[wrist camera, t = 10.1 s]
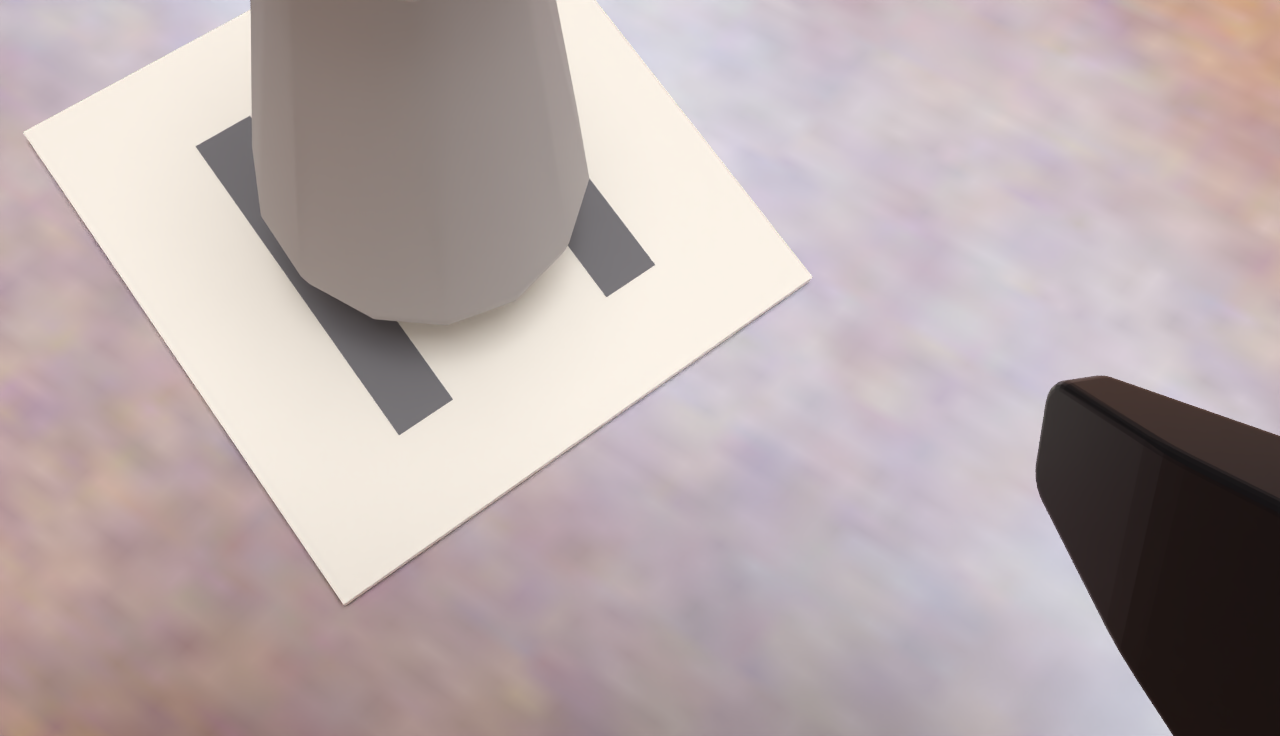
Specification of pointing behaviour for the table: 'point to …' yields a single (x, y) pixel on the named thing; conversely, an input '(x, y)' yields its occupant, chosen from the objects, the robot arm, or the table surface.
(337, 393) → the letter card
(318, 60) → the salt shaker
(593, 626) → the table surface
